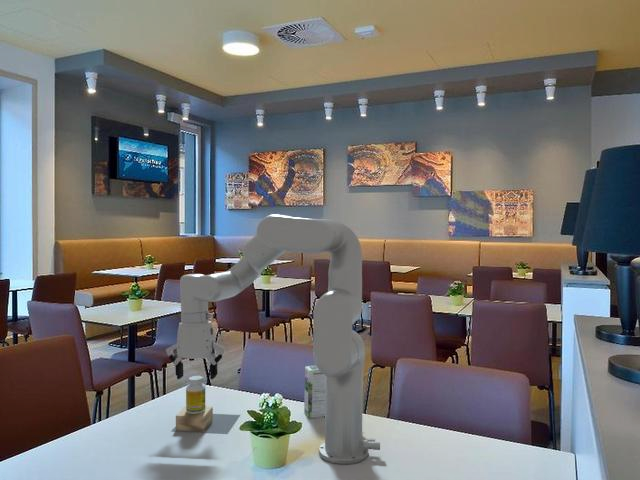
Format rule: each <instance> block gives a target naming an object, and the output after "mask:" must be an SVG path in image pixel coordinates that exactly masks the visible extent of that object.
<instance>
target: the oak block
mask: <svg viewBox="0 0 640 480" xmlns="http://www.w3.org/2000/svg"><path fill="white" fill-rule="evenodd" d="M213 411H214V409H213V406H208V405H207V406H206V405H205V411H204V412H202V413H199V414H189V413H187V412H186V405H185V406H184V407H183V408H182V409H181V410H180V411H179V412H178V413H177V414H175V427H176V430H187V431H204V430H205V429H206V428H207V427H208V425H209V424H210V423H211V422H212V421H213V414H214V412H213Z"/></svg>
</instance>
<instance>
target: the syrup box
mask: <svg viewBox="0 0 640 480" xmlns="http://www.w3.org/2000/svg"><path fill="white" fill-rule="evenodd" d="M325 381H326V376H325V375H324V374H322V373H321V372H320V371H319V370H318V368H317V367H316V365H308V366H304V395H303V396H304V399H303V400H304V405H303V406H304V409H303V411H304V413H305V415H306V417H308V419H315V418H316V419H317V418H325V417H324V416H325Z"/></svg>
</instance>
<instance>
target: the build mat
mask: <svg viewBox="0 0 640 480" xmlns="http://www.w3.org/2000/svg"><path fill="white" fill-rule="evenodd" d="M240 417H241V414H231V413H229V414H227V413H225V414H224V413H213V421H212V422H211V423H210V424H209V425H208V427H207V428H206V429H205V430H204V431H187V430H176V426H174V428H173V429H172V430H171V432H172V433H175V432H177V433H179V432H180V433H197V434H219V435H220V434H221V435H228V434H229V432H230V431H231V430H232V428H233V427H234V426H235V424H236V423H237V421H238V419H239V418H240Z"/></svg>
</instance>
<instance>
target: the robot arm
mask: <svg viewBox="0 0 640 480" xmlns="http://www.w3.org/2000/svg"><path fill="white" fill-rule="evenodd" d="M286 252H294V253H300V254H301V253H302V254H309V255H321V254H326V253H328V254H329V258H330V259H329V267H328V287H327V292H325V293H324V294H322V295H321V296H320V297H319V299H318V300H317V302H316V304H315V307H314V309H313V310H314V311H313V324H312V325H313V327H312V328H313V329H312V331H313V332H312V333H313V336H312V345H313V346H312V349H313V350H312V353H313V354H312V355H313V356H312V357H313V361H314V364H315V365H316V367H317V368H318V370H319V371H320V372H321V373H322V374H324V375H325V376H326V381H325V417H324V442H322V443H321V444H320V445H319V447H318V454H319V456H320V457H321V458H322V459H323V460H325V461H327V462H328V463H329V462H330V463H332V464H333V463H334V464H338V465H350V464H357V463H360V462H362V461H364V460H365V459H366V458H367V457H368V456H369V450H373V451H374V450H375V451H381V441H376V438H366V436H365V435H364V433H365V432H364V431H363V393H364V391H363V390H364V388H363V387H364V386H363V385H364V384H363V383H364V369H365V368H364V367H365V358H366V347H365V343H364V340H363V338H362V336H361V335H360V334H359V333H358V332H357V331H355V330H353V324H354V323H356V321H358V320H359V318H360V317H361V315H362V311H363V253H362V252H363V251H362V245H361V242H360V240H359V237H358V236H357V234H356V233H355V232H354V231H353V230H352V229H351V228H350V227H349V226H347V225H346V224H344V223H342V222H340V221H338V220H334V219H327V218H326V219H320V218H319V219H318V218H306V217H296V216H295V217H294V216H291V215H287V214H269V215H266V216H265V217H263V218H262V219H261V220H260V221H259V223H258V224H257V228H256V235H254V236H253V237H252V238H250V239H249V240H248V241H246V242H245V243H244V244H243V246H242V247H241V254H242V257H241V258H240V259H239V261H237V262H236V263H235V264H234V265H232V267H231V268H229V269H227V270H226V271H224V272H217V273H211V274H202V273H188V274H184V275H182V276H181V277H180V280H179V290H180V320H181V322H179V323H178V328H177V336H176V337H177V338H176V342H175V343H174V344H172V345H171V346H169V347H166V348H165V352H166V354H167V356H168V358H169V360H170V361H171V362H172V363H173V365H174V366H175V376H176V379H177V380H180V379H181V378H183V377H184V363H183V362H182V361H183V360H185V359H188V360H189V359H191V360H192V359H207V360H208V361H209V362H210V363H211V364H210V365H209V377H210V378H209V379H211V380H214V379H215V378H216V377H217V375H218V363H220V360H221V359H222V358H223V357H224V355H225V352H226V351H227V347H226V346H223V345H221V344H219V343H217V342H216V339H215V332H214V326H213V322H212V321H209V320H210V319H213V318H214V313H211V312H210V310H209V303H212V302H213V303H214V302H218V301H223V300H226V299H231V298H233V297H236V296H237V295H238V294H240V293H241V292H243V291H244V290H245V289H246V288H248V287H249V286H250V285H252V284H253V283H254V282H255V281H256V280H257V279H258V278H259V276H260V275H261V274H262V273H263V271H264V270H265V269H266V268H267V267H269V266H270V265H271V264H272V263H274V262H275V261H276V260H277V259H278V258H280V257H281V256H282V255H284V254H285V253H286ZM174 350H176V354H175V353H174ZM216 350H217V351H218V354H217V356H216ZM315 365H314V366H315Z"/></svg>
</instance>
